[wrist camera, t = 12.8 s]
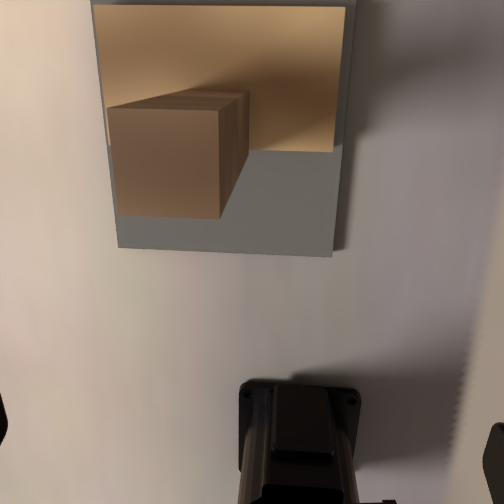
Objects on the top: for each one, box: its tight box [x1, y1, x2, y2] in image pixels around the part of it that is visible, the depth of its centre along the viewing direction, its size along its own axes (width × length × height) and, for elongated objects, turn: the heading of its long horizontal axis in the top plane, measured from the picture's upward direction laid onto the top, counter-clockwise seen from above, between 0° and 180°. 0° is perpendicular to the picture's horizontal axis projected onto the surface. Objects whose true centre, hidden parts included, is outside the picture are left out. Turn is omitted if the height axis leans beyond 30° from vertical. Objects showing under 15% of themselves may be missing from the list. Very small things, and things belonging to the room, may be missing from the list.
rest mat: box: [90, 0, 357, 257], centre depth 18 cm, size 12×10×1 cm
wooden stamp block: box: [93, 5, 345, 220], centre depth 13 cm, size 5×9×9 cm, turn 89°
